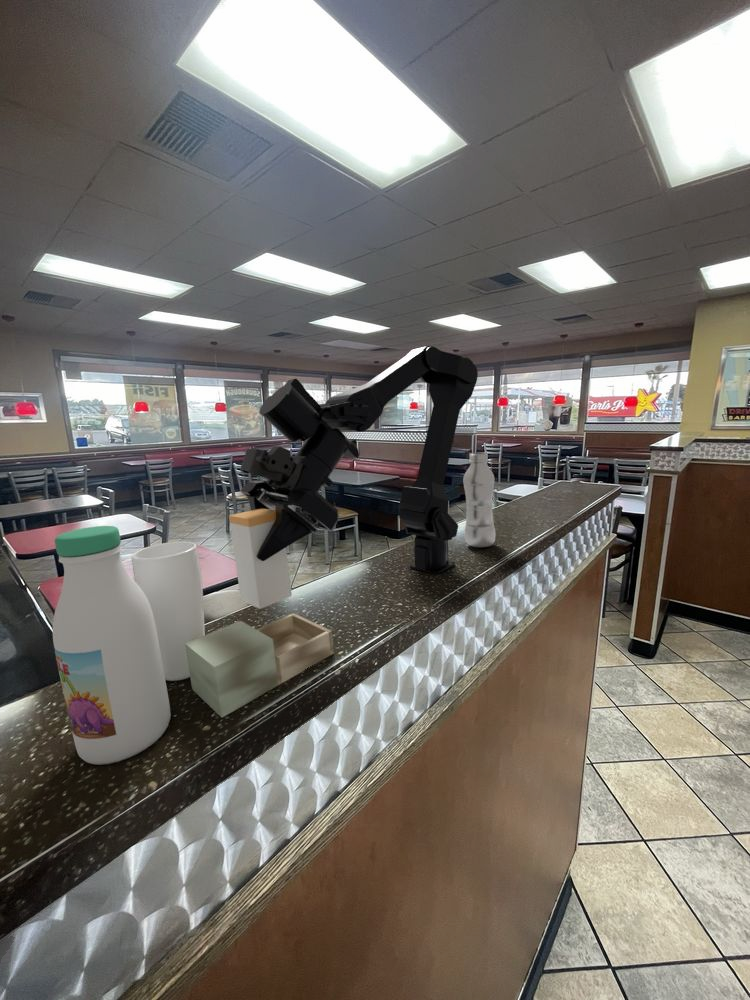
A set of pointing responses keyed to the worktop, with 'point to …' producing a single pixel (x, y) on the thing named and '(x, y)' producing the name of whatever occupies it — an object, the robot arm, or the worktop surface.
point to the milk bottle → (107, 650)
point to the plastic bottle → (479, 502)
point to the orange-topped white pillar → (258, 577)
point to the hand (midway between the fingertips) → (250, 554)
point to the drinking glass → (172, 599)
